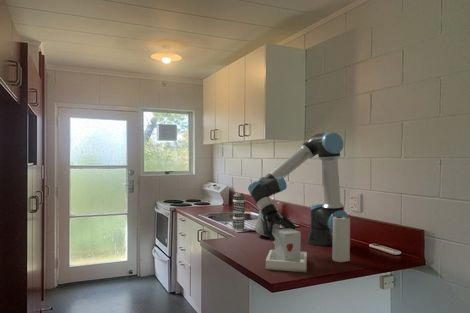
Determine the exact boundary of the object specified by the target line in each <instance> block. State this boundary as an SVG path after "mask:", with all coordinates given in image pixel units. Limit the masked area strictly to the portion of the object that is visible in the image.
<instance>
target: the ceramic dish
mask: <svg viewBox="0 0 470 313" xmlns="http://www.w3.org/2000/svg"><path fill="white" fill-rule="evenodd" d="M307 255H308V253H307V251H300V262H293V261H280V260H275V249H269V251H268V254H267V256H266V259H265V270H270V271H271V270H272V271H285V272H297V273H307V261H308V259H307V258H308V256H307Z"/></svg>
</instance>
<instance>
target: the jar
mask: <svg viewBox="0 0 470 313" xmlns="http://www.w3.org/2000/svg"><path fill="white" fill-rule="evenodd" d="M272 199H274V197H272ZM279 203H280V202H277V204H279ZM276 209H277V213H278V214H279V215H280V214H281V212H279V210H280V209H278V208H276ZM262 217H263V215H262V213H261V211H260V210H259V211H258V215H257V220H256V225H255V230H254V231H255V232H256V233H257V234H258V235H261V236H264V237H267V236H266V235H264V232H263V223H262V221H261V218H262ZM280 221H281V220H280ZM267 224H268V221H267ZM268 226H269V225H268ZM280 228H281V225H279V224H274V225H273V229H272V233H274V234H275V230H278V229H280Z"/></svg>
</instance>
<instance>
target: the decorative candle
mask: <svg viewBox="0 0 470 313" xmlns="http://www.w3.org/2000/svg"><path fill="white" fill-rule="evenodd" d="M232 197H233V199H232V201H231V202H232V203H231V204H232V207H231V208H232V209H231V210H232V214H233V215H232V230H234V229H235V230H234V231H244V230H245V224H246V223H245V212H246V211H245V210H246V208H245V207H246V203H245V194H244V193H242V192H235V193H234V194H233V196H232ZM243 229H244V230H243Z"/></svg>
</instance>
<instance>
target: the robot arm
mask: <svg viewBox="0 0 470 313" xmlns="http://www.w3.org/2000/svg"><path fill="white" fill-rule="evenodd" d="M343 148H344V140H343V138H342V136H341V135H340V134H338V133H337V132H332V131H331V132H330V131H329V132H323V133H322V132H321V133H316V134H314V135H313V136H311V137H310V138H309V139H307V140H306V141H305V142H304V143H302V144H301V145H300V148H299V149H298V150H296V151H295V152H294V153H293V154H291V155H290V156H288V158H287V159H285V160H284V161H282V162H281V163H280V164H279V165H278V166H276V167H275V168H274V169H273V170H271V171H270V172H269V173H268V174H266V175H264V176H262V177H260V178H259V179H258V180H256V181H253V182H251V183H249V185H248V188H247V190H248V192H249V195H250V197H251V198H252V199H253V201H254V203H255V205H256V206H257V208H258V209H259V211H261V213H262V215H263V217H262V218H261V221H262V223H263V232H264V235H266V236H265V237H267V238H269V239H270V241H271V242H272V243H273V244H274V247H275V246H276V248H278V247H279V246H280V245H281V244H280V242H279V241H278V239H277V237H276V236H275V234H274V233H272V229H273V225H274V224H279V225H280V226H282V227H283V228H284V229H293V230H296V228H297V225H295V224H294V222H292V221H291V220H290V219H289V218H287V216H285V215H284V213H281V212H280V213H281V214H280V215H279V214H278V213H277V209H278V208H276V206H275V204H274V203H273V201H272V199H271V198H270V197H271V196H273V195H276V194H278V193H281V192H283V191H285V190H287V186H288V185H287V182H286V180H285V179H286V177H287V176H289V175H290V174H291V173H292V172H293V171H295V170H296V169H297V168H299V167H300V166H301V165H302V164H304V163H305V162H306V161H307V160H309V159H312V158H314V157H315V156H317V155H318V159H320V161H321V170H322V171H321V172H322V185H323V187H322V188H323V197H324V203H319V204H317V203H315V204H313V203H312V205H311V206H310V230H309V233H308V236H307V243H308V244H311V245H314V246H318V247H319V246H320V247H321V246H322V247H325V246H326V247H328V246H333V232H332V231H333V217H344V218H350V217H349V214H348V213H347V212H346V211H345V205H344V204H343V203H342V202H341V191H340V190H341V189H340V188H341V187H340V176H339V173H340V172H339V159H340V157H341V152H342V150H343ZM280 220H281V221H280ZM267 221H268V224H267ZM268 225H269V226H268Z"/></svg>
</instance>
